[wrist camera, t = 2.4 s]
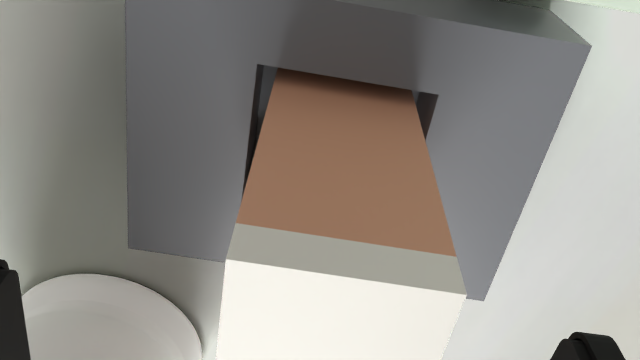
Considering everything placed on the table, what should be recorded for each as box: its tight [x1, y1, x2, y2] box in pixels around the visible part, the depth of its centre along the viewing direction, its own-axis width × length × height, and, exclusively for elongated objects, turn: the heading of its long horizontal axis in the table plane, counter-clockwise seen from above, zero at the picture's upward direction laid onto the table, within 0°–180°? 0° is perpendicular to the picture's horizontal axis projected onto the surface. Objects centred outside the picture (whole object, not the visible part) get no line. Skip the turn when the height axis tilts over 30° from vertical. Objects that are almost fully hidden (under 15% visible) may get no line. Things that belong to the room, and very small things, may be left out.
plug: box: [216, 68, 467, 360], centre depth 15 cm, size 4×4×10 cm
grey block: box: [125, 0, 592, 301], centre depth 18 cm, size 12×9×4 cm
